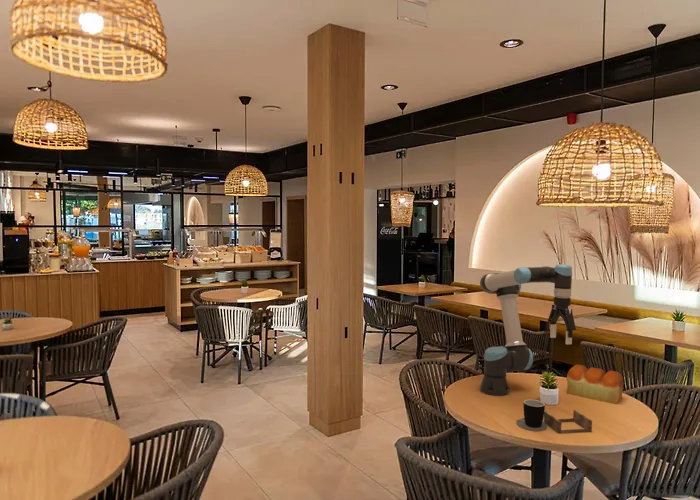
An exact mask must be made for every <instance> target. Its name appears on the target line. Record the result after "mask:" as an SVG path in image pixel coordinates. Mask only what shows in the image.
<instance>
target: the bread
mask: <svg viewBox="0 0 700 500" xmlns="http://www.w3.org/2000/svg"><path fill="white" fill-rule="evenodd" d="M566 383H567V384H566V385H567V387H566V388H567V390H566V395H567V394H568V395H570V396H576V397H580V398H584V399H589V400H595V401H598V402H603V403H609V404H613V405H618V404H619V402H620V401H621V400H622V398H623V386H624V378H623V375H622V374H621V373H620V372H618V371H616V370H615V371H614V370H608V371H607V372H606V373H605V371H604V370H603V369H602V368H598V367H593V366H591V367H590V368H587V366H585V365H584V364H583V365H582V364H578V363H577V364H575V365H573V366H572V367H571V368H569V370H568V372H567V376H566Z"/></svg>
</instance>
